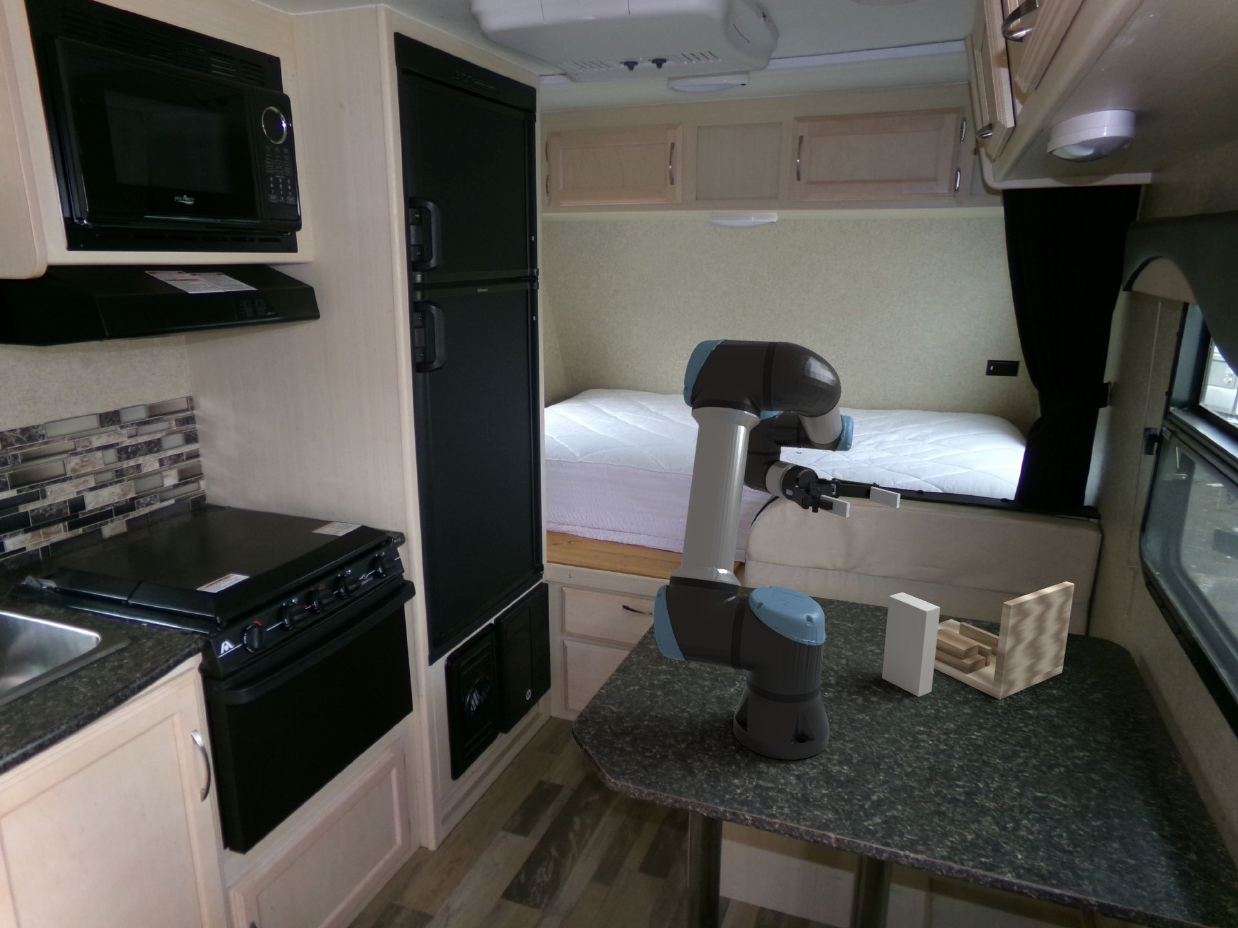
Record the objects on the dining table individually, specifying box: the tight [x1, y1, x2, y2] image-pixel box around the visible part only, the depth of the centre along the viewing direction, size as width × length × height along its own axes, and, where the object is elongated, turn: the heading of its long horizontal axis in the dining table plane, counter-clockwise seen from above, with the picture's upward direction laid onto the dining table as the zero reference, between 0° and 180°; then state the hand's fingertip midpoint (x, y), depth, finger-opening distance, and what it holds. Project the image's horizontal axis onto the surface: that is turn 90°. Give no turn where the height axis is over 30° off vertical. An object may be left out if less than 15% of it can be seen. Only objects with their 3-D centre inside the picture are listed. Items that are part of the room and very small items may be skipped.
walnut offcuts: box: [935, 629, 986, 674], centre depth 154 cm, size 5×10×4 cm, turn 32°
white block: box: [881, 591, 941, 698], centre depth 146 cm, size 4×8×16 cm, turn 32°
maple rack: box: [934, 581, 1076, 700], centre depth 156 cm, size 19×24×18 cm
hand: (874, 505), depth 153 cm, fingers open, 13 cm apart
